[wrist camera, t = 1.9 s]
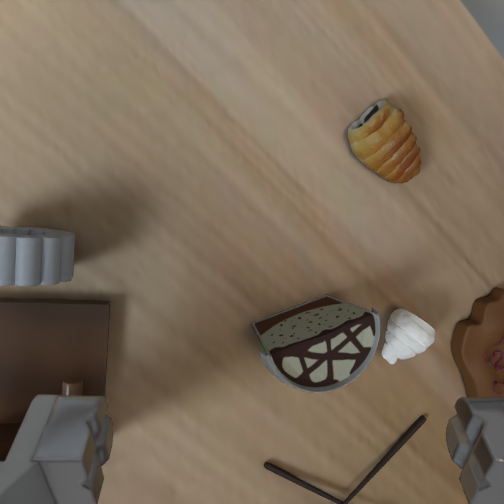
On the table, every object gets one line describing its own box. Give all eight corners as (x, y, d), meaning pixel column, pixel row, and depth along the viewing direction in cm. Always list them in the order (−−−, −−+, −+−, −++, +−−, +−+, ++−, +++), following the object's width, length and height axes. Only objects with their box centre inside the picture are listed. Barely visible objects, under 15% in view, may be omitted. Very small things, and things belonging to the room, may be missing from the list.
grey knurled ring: (-16, 224, 45) (-44, 233, 37) (78, 230, 47) (70, 240, 39) (-17, 266, 45) (-45, 284, 37) (76, 270, 47) (67, 288, 40)
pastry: (425, 157, 56) (446, 155, 52) (386, 198, 55) (405, 199, 52) (376, 95, 53) (395, 89, 50) (335, 137, 53) (351, 134, 49)
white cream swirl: (360, 342, 57) (384, 358, 52) (389, 301, 57) (416, 313, 52) (391, 365, 59) (417, 383, 54) (419, 325, 59) (448, 340, 54)
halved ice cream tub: (253, 376, 54) (282, 418, 45) (238, 327, 53) (265, 359, 43) (350, 338, 57) (397, 369, 47) (338, 290, 55) (383, 312, 46)
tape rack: (-28, 297, 45) (-178, 416, 22) (110, 300, 49) (103, 407, 26) (-32, 446, 47) (-173, 697, 24) (102, 439, 51) (88, 654, 28)
